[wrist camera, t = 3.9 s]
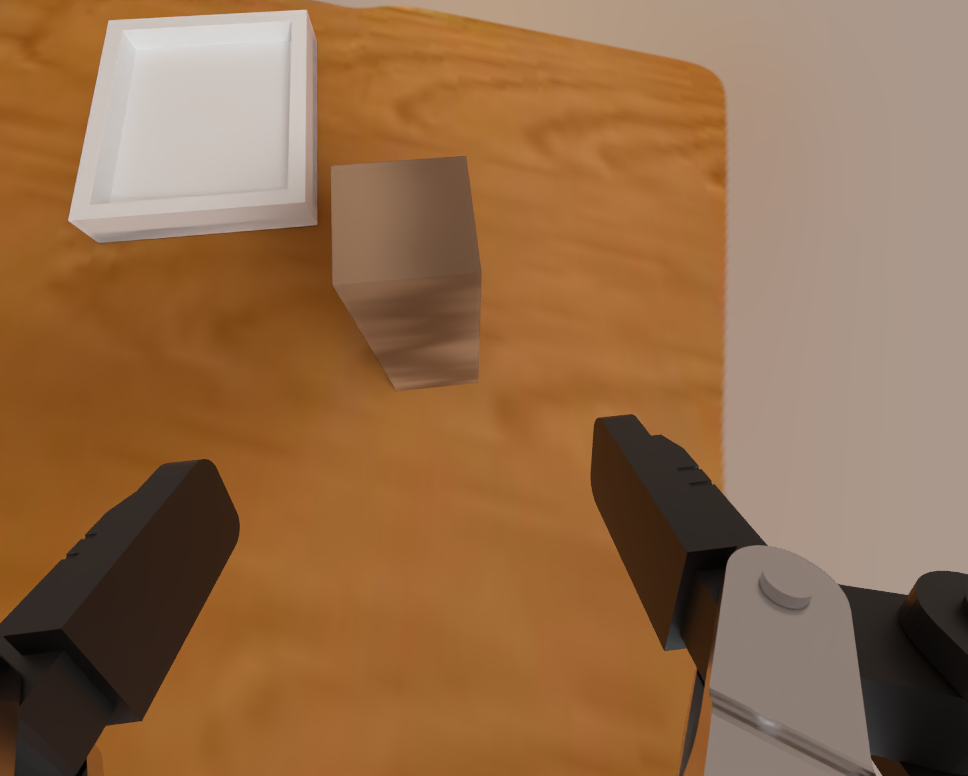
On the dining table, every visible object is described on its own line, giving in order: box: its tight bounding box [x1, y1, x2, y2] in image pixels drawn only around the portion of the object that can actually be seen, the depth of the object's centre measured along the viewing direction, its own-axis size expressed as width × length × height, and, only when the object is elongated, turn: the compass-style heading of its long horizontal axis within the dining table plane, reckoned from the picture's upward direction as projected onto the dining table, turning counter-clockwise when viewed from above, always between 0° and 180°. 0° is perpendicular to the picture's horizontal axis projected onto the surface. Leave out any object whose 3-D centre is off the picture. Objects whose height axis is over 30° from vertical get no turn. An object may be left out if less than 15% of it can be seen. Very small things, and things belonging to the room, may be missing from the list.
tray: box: [68, 10, 318, 243], centre depth 27 cm, size 13×16×2 cm
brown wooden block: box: [331, 156, 481, 391], centre depth 19 cm, size 4×4×11 cm
